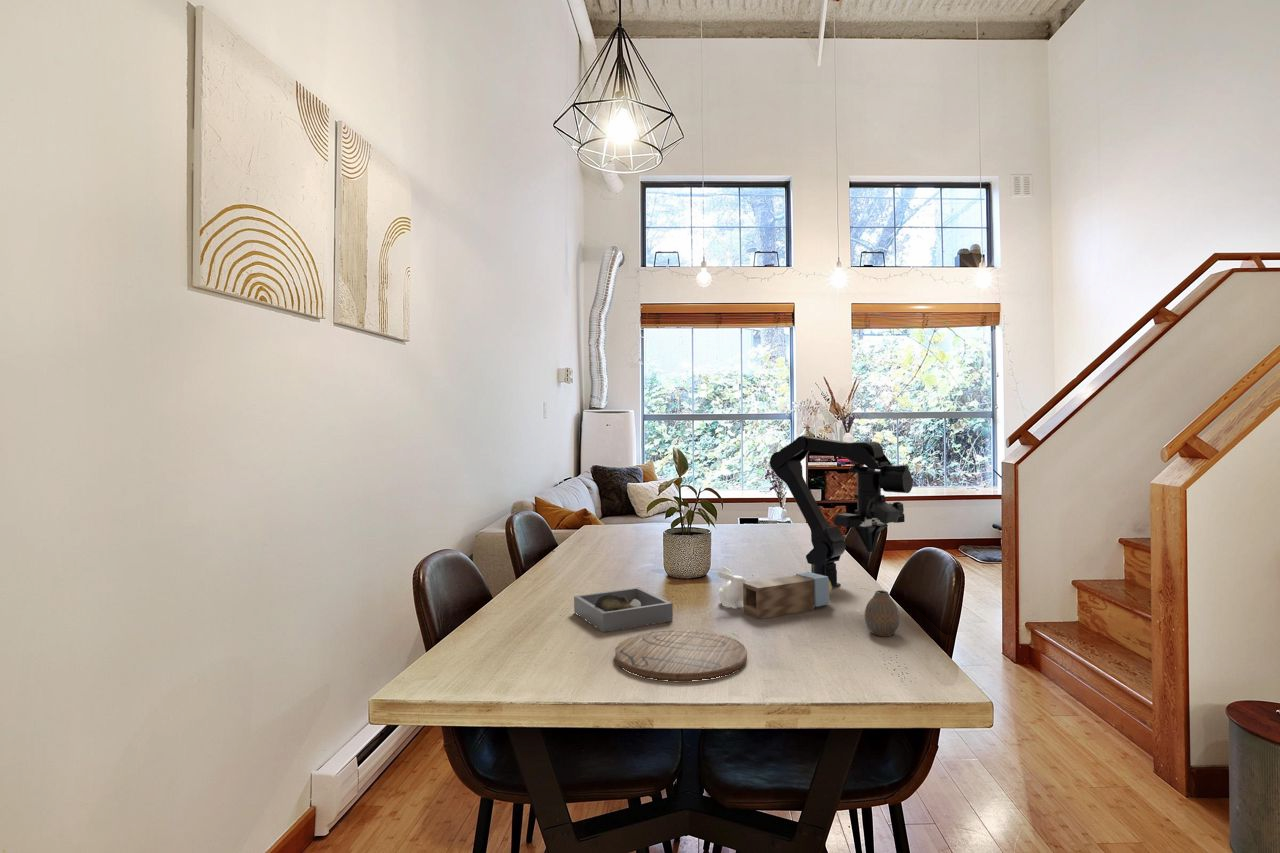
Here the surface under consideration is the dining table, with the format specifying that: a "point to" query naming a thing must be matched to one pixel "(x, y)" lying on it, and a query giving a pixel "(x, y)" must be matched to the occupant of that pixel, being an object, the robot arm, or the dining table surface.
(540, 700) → the dining table surface
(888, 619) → the vase
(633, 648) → the trivet
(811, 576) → the spacer
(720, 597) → the rabbit figurine
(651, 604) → the tray rim
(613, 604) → the eagle figurine
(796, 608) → the block
